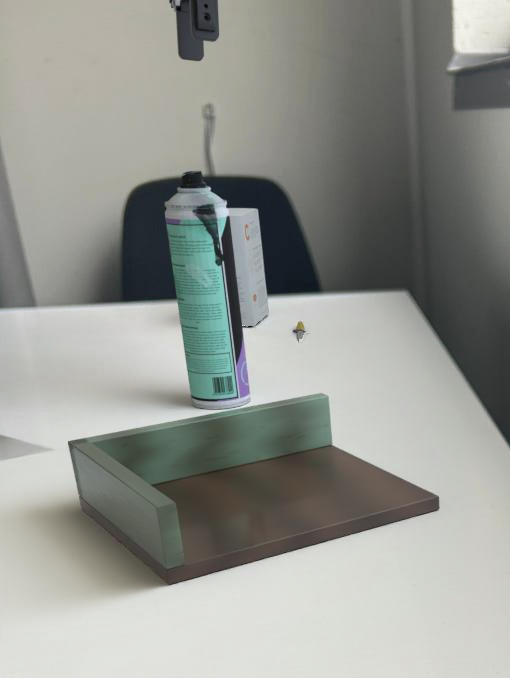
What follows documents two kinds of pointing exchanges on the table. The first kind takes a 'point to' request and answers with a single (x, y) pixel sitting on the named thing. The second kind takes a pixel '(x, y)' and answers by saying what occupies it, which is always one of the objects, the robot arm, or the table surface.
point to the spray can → (207, 295)
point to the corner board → (235, 487)
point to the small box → (249, 264)
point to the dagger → (300, 330)
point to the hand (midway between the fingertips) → (198, 50)
